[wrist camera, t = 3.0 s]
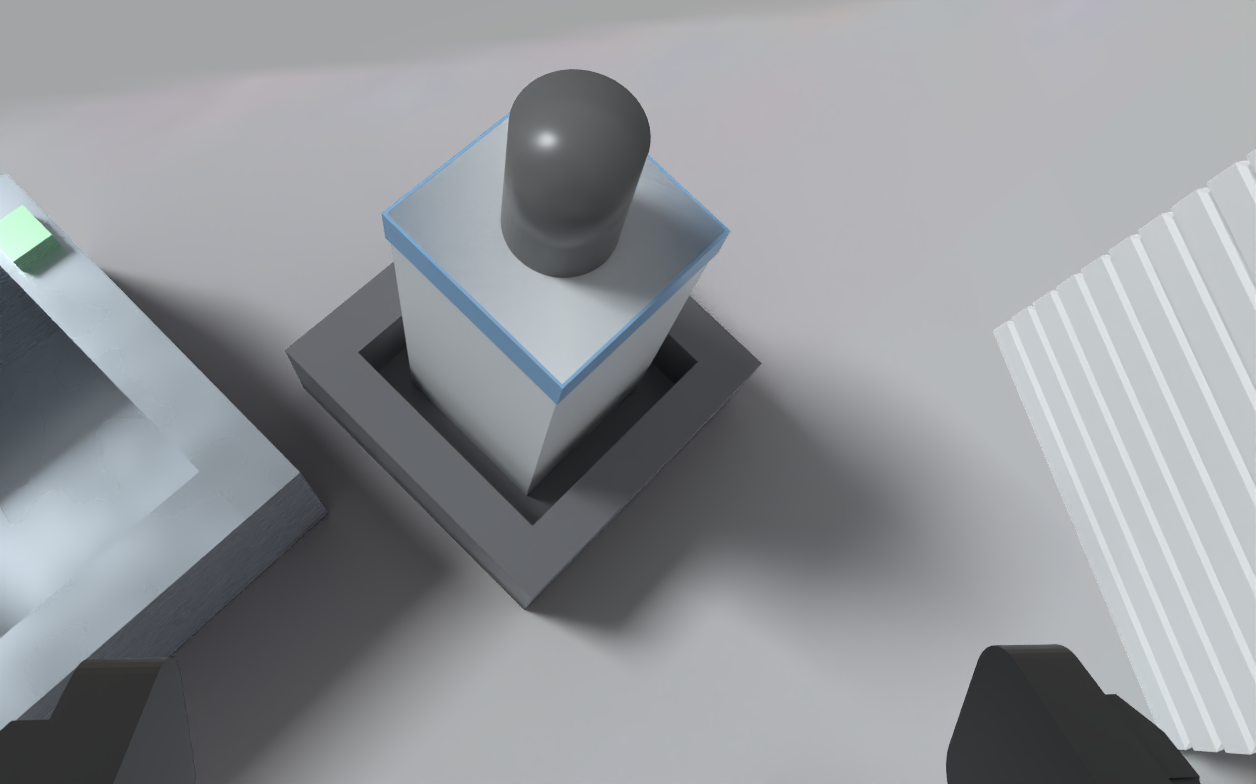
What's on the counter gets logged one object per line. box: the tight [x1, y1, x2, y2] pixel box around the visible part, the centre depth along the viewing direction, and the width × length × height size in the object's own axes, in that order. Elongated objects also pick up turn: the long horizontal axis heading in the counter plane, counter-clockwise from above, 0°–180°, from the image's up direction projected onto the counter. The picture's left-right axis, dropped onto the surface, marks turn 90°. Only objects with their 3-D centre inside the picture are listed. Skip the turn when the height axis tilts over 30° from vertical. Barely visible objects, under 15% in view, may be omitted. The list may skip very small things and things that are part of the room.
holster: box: [285, 262, 762, 610], centre depth 22 cm, size 7×7×2 cm
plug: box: [382, 69, 730, 496], centre depth 17 cm, size 4×4×10 cm
